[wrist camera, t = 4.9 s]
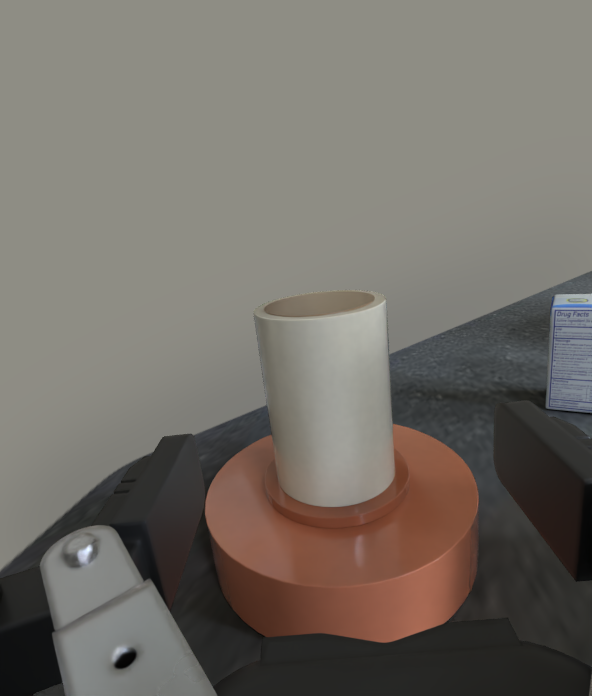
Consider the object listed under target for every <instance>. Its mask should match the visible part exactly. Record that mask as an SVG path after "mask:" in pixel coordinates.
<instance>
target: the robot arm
mask: <svg viewBox="0 0 592 696" xmlns="http://www.w3.org/2000/svg"><path fill="white" fill-rule="evenodd" d="M494 465H495V469H496V473H497V475H498V478H499V479H500V481H501V483H502V484H503V485H504V487H505V488H506V489H507V491H508V492H509V493H510V495H511V496H512V497H513V499H514V500H515V501H516V502H517V504H518V505H519V506H520V508H521V509H522V510H523V512H524V513H525V514H526V516H527V517H528V518H529V520H530V521H531V522H532V524H533V525H534V526H535V528H536V529H537V530H538V532H539V533H540V534H541V536H542V537H543V538H544V540H545V541H546V542H547V544H548V545H549V546H550V548H551V549H552V550H553V552H554V553H555V554H556V556H557V557H558V558H559V560H560V561H561V562H562V564H563V565H564V566H565V568H566V569H567V570H568V572H569V573H570V574H571V576H572V577H573V578H574V579H575V581H576V582H577V581H589V580H592V439H589V436H588V435H586V434H585V433H584V432H583V431H581V430H580V429H579V428H577V427H576V426H575V425H573V424H570V423H568V422H565V421H563V420H561V419H558V418H556V417H549V416H548V415H547V414H546V413H544V412H543V411H542V410H541V409H539V408H538V407H537V406H536V405H535V404H533V403H532V402H531V401H528V400H525V401H516V402H506V403H498V404H497V405H496V407H495V411H494ZM204 505H205V485H204V480H203V475H202V470H201V465H200V460H199V455H198V450H197V445H196V441H195V438H194V436H193V435H192V434H183V435H174V436H164V437H163V438H162V439H161V441H160V442H159V444H158V446H157V447H156V449H155V451H154V452H153V454H152V455H151V456H146V457H143V458H142V459H141V460H139V461H138V462H137V463H136V464H134V465H133V466H132V467H130V468H129V470H128V471H127V473H126V474H125V476H124V477H123V479H122V480H121V483H120V484H119V485H118V486H117V488H116V489H115V490H114V494H112V495H111V496H110V498H109V499H108V501H107V502H106V504H105V505H104V507H103V508H102V510H101V511H100V513H99V514H98V516H97V517H96V519H95V520H94V522H93V523H92V525H91V526H90V527H86V528H83V529H80V530H77V531H75V532H72V533H70V534H68V535H67V536H65V537H63V538H62V539H60V540H59V541H58V542H56V543H55V544H54V545H53V546H52V547H50V549H49V550H48V551H47V552H46V553H45V555H44V556H43V558H42V560H41V563H40V566H38V567H35V568H32V569H29V570H26V571H23V572H19V573H16V574H13V575H10V576H6V577H3V578H0V696H32V695H33V694H34V693H36V692H39V691H41V690H44V689H47V688H49V687H52V686H54V685H57V684H60V683H62V682H63V686H64V690H65V695H66V696H592V667H590V666H588V665H587V664H585V663H583V662H581V661H579V660H577V659H575V658H573V657H571V656H569V655H567V654H564V653H562V652H560V651H557V650H554V649H551V648H549V647H546V646H542V645H539V644H535V643H531V642H527V641H521V640H519V639H518V637H517V635H516V633H515V631H514V629H513V627H512V625H511V623H510V621H509V619H508V618H499V619H486V620H474V621H461V622H449V623H444V624H441V625H438V626H436V627H433V628H430V629H427V630H424V631H421V632H418V633H415V634H413V635H410V636H407V637H404V638H401V639H398V640H395V641H392V642H387V643H382V642H375V641H369V640H363V639H356V638H350V637H344V636H338V635H332V634H326V633H313V634H301V635H288V636H276V637H264V638H262V648H261V659H260V660H259V661H256V662H254V663H251V664H249V665H247V666H245V667H243V668H241V669H239V670H237V671H235V672H233V673H232V674H230V675H229V676H227V677H225V678H224V679H223V680H221V681H220V682H219V683H218V684H216V685H215V686H214V687H212V685H211V683H210V682H209V680H208V678H207V676H206V675H205V673H204V671H203V669H202V668H201V666H200V664H199V662H198V661H197V659H196V657H195V655H194V654H193V652H192V650H191V648H190V647H189V645H188V643H187V641H186V640H185V638H184V636H183V634H182V633H181V631H180V629H179V627H178V626H177V624H176V622H175V620H174V619H173V617H172V615H171V613H170V610H171V607H172V604H173V601H174V598H175V595H176V592H177V589H178V586H179V583H180V580H181V576H182V573H183V570H184V567H185V564H186V561H187V558H188V555H189V552H190V549H191V546H192V543H193V540H194V537H195V534H196V531H197V528H198V525H199V522H200V518H201V515H202V512H203V509H204Z"/></svg>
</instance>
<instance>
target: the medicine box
mask: <svg viewBox="0 0 592 696" xmlns="http://www.w3.org/2000/svg"><path fill="white" fill-rule="evenodd" d="M546 408H547V409H554V410H565V411H575V412H586V413H592V294H564V295H555V296H553V297H552V304H551V312H550V330H549V350H548V370H547V391H546Z"/></svg>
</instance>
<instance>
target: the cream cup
mask: <svg viewBox="0 0 592 696" xmlns="http://www.w3.org/2000/svg"><path fill="white" fill-rule="evenodd" d="M254 320H255V327H256V333H257V340H258V347H259V354H260V361H261V368H262V375H263V382H264V388H265V395H266V403H267V410H268V416H269V423H270V430H271V437H272V444H273V451H274V458H275V465H276V472H277V478H278V482H279V485H280V487H281V488H282V489H283V491H284V492H285V493H286V494H288V495H289V496H290V497H292V498H293V499H295V500H297V501H300V502H302V503H305V504H309V505H313V506H320V507H343V506H350V505H355V504H359V503H362V502H365V501H368V500H370V499H372V498H374V497H376V496H378V495H379V494H381V493H382V492H383V491H385V490H386V489H387V488H388V487H389V485H390V484H391V483H392V481H393V479H394V477H395V451H394V433H393V414H392V395H391V377H390V358H389V340H388V323H387V322H388V321H387V303H386V297H385V296H383V295H382V294H379V293H375V292H371V291H360V290H337V291H322V292H313V293H306V294H299V295H294V296H289V297H284V298H280V299H276V300H273V301H270V302H267V303H265V304H262V305H261V306H259V307H257V308H256V309H255V310H254Z"/></svg>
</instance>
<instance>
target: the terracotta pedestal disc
mask: <svg viewBox="0 0 592 696" xmlns="http://www.w3.org/2000/svg"><path fill="white" fill-rule="evenodd" d="M393 433H394V451H395V477H394V479H393V481H392V483H391V484H390V485H389V487H388V488H387V489H386V490H385V491H383V492H382V493H381V494H379V495H378V496H376V497H374V498H372V499H370V500H368V501H365V502H362V503H359V504H355V505H350V506H343V507H320V506H313V505H309V504H305V503H302V502H300V501H297V500H295V499H293V498H292V497H290V496H289V495H288V494H286V493H285V492H284V491H283V489H282V488H281V487H280V485H279V482H278V478H277V472H276V465H275V458H274V451H273V444H272V437H271V435H269V436H267V437H264V438H262V439H260V440H258V441H256V442H254V443H253V444H251V445H249V446H248V447H246V448H244V449H243V450H241V451H240V452H239V453H237V454H236V455H235V456H233V457H232V458H231V459H230V460H229V461H228V462H227V463H226V464H225V465H224V466H223V467H222V468H221V470H220V471H219V472H218V473H217V475H216V476H215V478H214V479H213V481H212V483H211V485H210V488H209V490H208V492H207V497H206V501H205V517H206V522H207V527H208V532H209V537H210V542H211V546H212V551H213V556H214V561H215V566H216V571H217V576H218V580H219V584H220V587H221V589H222V592H223V594H224V596H225V598H226V599H227V601H228V603H229V604H230V606H231V607H232V609H233V610H234V611H235V612H236V613H237V614H238V615H239V617H240V618H241V619H242V620H243V621H244V622H245V623H247V624H248V625H249V626H250V627H252V628H253V629H254V630H256V631H257V632H258V633H260V634H262V635H263V636H265V637H276V636H288V635H301V634H313V633H326V634H332V635H338V636H344V637H350V638H356V639H363V640H369V641H375V642H382V643H387V642H392V641H395V640H398V639H401V638H404V637H407V636H410V635H413V634H415V633H418V632H421V631H424V630H427V629H430V628H433V627H436V626H438V625H441V624H444V623H445V622H446V621H447V620H449V619H450V618H451V617H452V616H453V615H454V614H455V613H456V611H457V610H458V609H459V608H460V607H461V605H462V604H463V603H464V601H465V600H466V598H467V596H468V594H469V592H470V591H471V589H472V586H473V583H474V580H475V577H476V574H477V566H478V532H479V497H478V488H477V484H476V481H475V478H474V476H473V474H472V472H471V471H470V469H469V467H468V466H467V465H466V463H465V462H464V461H463V460H462V458H461V457H460V456H459V455H457V454H456V453H455V452H454V451H453V450H452V449H450V448H449V447H448V446H446V445H445V444H443V443H442V442H440V441H438V440H436V439H435V438H433V437H431V436H429V435H426V434H424V433H422V432H419V431H417V430H414V429H411V428H408V427H404V426H400V425H396V424H393Z"/></svg>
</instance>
